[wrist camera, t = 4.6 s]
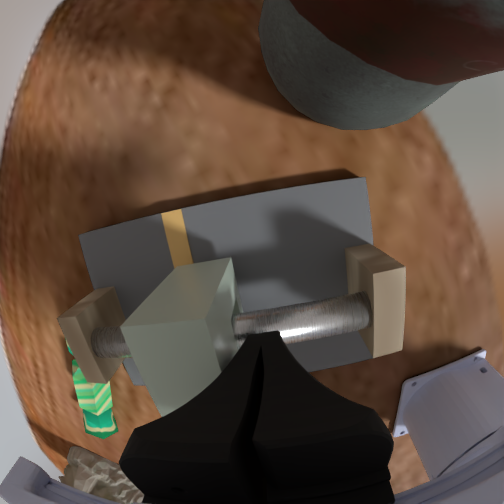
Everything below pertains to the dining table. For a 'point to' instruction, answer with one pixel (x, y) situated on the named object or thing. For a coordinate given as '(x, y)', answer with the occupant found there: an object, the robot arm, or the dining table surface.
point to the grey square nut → (185, 332)
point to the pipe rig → (252, 275)
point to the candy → (94, 404)
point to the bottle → (377, 54)
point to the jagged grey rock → (99, 477)
